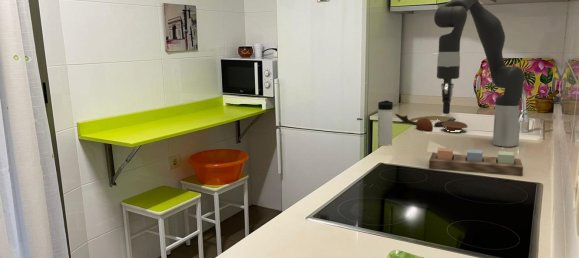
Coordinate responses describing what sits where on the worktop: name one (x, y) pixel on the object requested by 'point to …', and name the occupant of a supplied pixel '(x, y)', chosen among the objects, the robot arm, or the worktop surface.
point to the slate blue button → (474, 155)
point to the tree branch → (441, 118)
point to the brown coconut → (454, 125)
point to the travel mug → (385, 123)
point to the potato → (424, 125)
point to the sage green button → (506, 157)
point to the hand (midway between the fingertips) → (446, 113)
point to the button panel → (476, 165)
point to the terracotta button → (445, 153)
